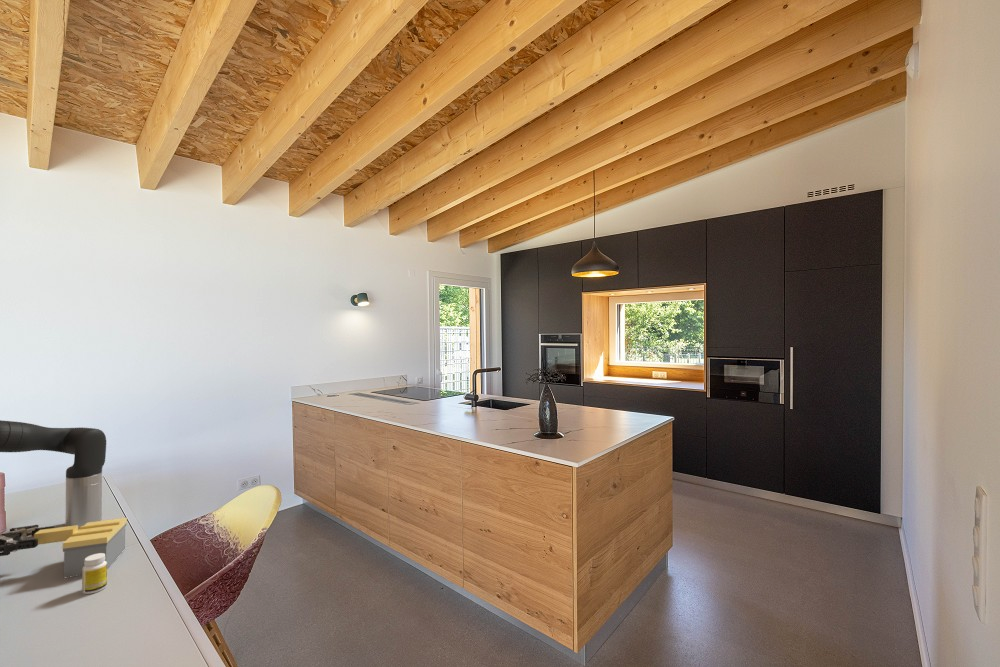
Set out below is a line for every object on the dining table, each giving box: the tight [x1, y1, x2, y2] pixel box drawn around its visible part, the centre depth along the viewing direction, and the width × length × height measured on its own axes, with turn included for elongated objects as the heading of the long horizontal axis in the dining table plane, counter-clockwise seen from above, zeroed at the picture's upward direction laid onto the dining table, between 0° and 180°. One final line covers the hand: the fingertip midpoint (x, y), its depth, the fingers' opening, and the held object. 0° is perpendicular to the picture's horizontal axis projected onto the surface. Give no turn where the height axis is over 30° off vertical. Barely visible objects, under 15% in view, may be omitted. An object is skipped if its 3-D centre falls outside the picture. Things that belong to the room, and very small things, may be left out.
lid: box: [33, 517, 128, 550], centre depth 128 cm, size 14×18×3 cm
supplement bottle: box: [81, 553, 108, 595], centre depth 116 cm, size 5×5×8 cm
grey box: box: [62, 523, 127, 578], centre depth 129 cm, size 14×9×8 cm, turn 23°
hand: (46, 536), depth 125 cm, fingers open, 8 cm apart
